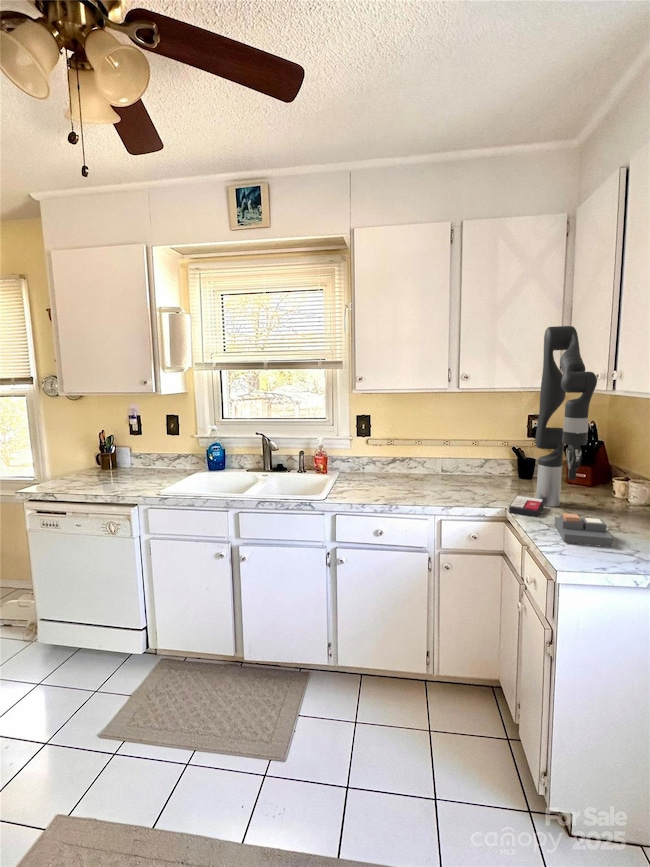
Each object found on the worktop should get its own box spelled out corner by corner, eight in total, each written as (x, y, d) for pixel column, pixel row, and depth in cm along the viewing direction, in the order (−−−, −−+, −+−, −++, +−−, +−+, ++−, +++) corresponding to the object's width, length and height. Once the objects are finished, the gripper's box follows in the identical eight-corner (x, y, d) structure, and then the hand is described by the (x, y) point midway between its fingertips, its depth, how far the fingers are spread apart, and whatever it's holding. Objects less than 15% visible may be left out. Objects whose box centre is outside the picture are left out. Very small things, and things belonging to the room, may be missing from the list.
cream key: (584, 524, 157) (584, 517, 157) (598, 525, 156) (599, 518, 155) (587, 528, 153) (588, 521, 153) (602, 530, 152) (602, 523, 151)
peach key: (562, 519, 159) (563, 513, 159) (576, 520, 158) (576, 514, 157) (565, 523, 155) (565, 517, 155) (579, 525, 154) (579, 518, 153)
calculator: (509, 505, 180) (516, 494, 193) (508, 515, 181) (515, 503, 194) (538, 509, 175) (544, 498, 187) (538, 519, 175) (543, 507, 188)
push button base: (554, 524, 166) (555, 510, 166) (596, 528, 162) (597, 513, 161) (564, 542, 149) (565, 526, 149) (612, 547, 145) (613, 531, 144)
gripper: (559, 427, 160) (556, 474, 163) (567, 432, 148) (563, 483, 150) (582, 427, 158) (579, 475, 160) (592, 433, 145) (588, 484, 148)
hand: (571, 479), depth 155 cm, fingers closed
